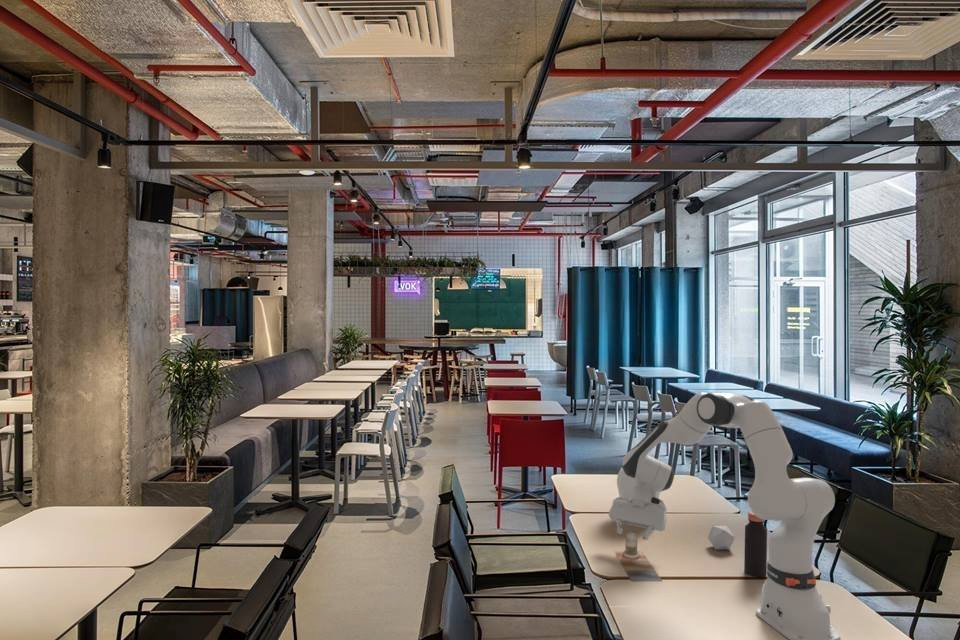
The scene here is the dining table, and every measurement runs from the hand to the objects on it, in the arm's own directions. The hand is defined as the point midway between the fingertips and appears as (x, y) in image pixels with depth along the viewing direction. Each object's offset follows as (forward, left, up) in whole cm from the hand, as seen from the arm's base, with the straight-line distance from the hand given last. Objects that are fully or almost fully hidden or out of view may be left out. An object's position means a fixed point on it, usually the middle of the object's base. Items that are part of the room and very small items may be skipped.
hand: (631, 536), depth 218 cm
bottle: (-13, -38, -7) cm, 41 cm away
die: (+8, -35, -7) cm, 36 cm away
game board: (-8, 0, -7) cm, 11 cm away
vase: (+39, -13, -7) cm, 41 cm away
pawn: (0, 0, -7) cm, 7 cm away
